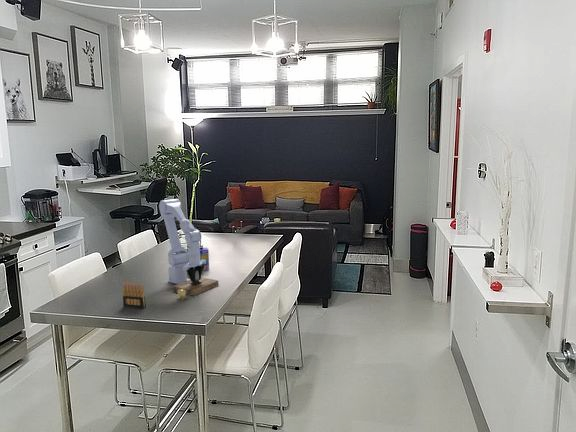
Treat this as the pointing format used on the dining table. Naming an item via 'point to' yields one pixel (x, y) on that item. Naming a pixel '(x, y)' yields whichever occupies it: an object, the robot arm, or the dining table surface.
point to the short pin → (181, 294)
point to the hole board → (196, 286)
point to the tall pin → (196, 278)
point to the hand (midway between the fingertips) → (195, 280)
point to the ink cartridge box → (204, 257)
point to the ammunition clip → (133, 295)
